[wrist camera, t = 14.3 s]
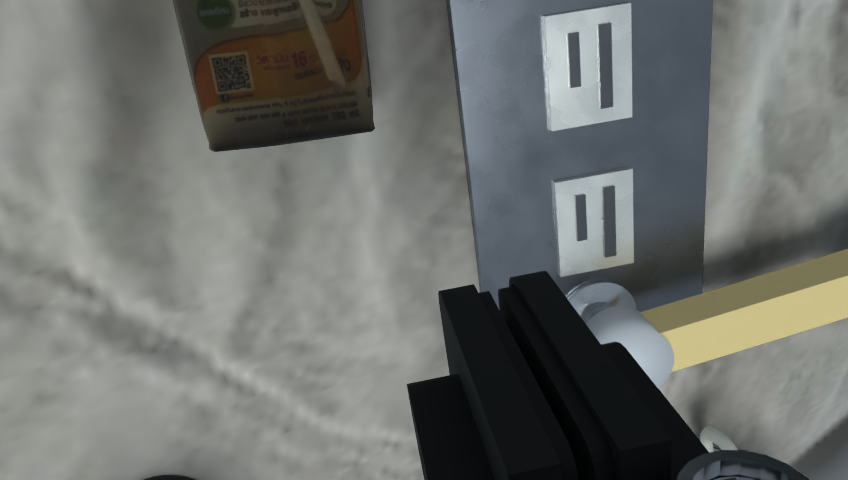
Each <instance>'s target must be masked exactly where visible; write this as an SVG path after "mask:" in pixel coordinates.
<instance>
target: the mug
mask: <svg viewBox="0 0 848 480" xmlns="http://www.w3.org/2000/svg"><path fill="white" fill-rule="evenodd" d="M700 441H701V443H702V444H703V445H704V447H705V448H706V449H707V450H708V452H709V453H710V452H714V451H719V450H718V449H715V448H713V443H715V444H716V445H718V446H719V447H720V448H721V449H722V450H738V449H737V447H736V446H735V445H734V443H733V442H732V441H731V439H730V438H729V437H728V436H727V435H726V434H725V433H724V432H723V431H722V430H720V429H719V428H717V427H715V426H712V425H708V426H706V427H705V428H704V429H703V430H702V432H701V434H700Z"/></svg>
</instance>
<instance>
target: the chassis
mask: <svg viewBox="0 0 848 480" xmlns="http://www.w3.org/2000/svg"><path fill="white" fill-rule="evenodd" d="M447 9H448V17H449V26H450V35H451V43H452V52H453V60H454V69H455V78H456V86H457V95H458V103H459V112H460V120H461V129H462V138H463V146H464V155H465V163H466V172H467V181H468V189H469V198H470V206H471V215H472V224H473V232H474V241H475V249H476V258H477V267H478V275H479V284H480V292H486V291H489V292H490V293H491V295H492V297H493V299H494V301H495V303H496V305H497V307H498V308H499V300H498V290H499V289H501V288H506V287H509V279H510V277H514V276H520V275H525V274H530V273H535V272H540V271H546V272H548V274H549V275H550V276H551V278H552V279H553V280H554V282H555V283H556V284H557V286H558V287H559V288H560V290H561V291H562V292H563V294H564V295H565V296H566V298H567V299H568V300H569V302H570V303H571V305H572V306H573V307H574V309H575V310H576V311H577V313H578V314H579V315H580V317H581V318H582V319H583V321H584V322H585V323H587V322H588V321H589V320H590V319H591V318H592V317H593V316H594V315H596V314H597V313H599V312H600V311H602V310H604V309H607V308H610V307H614V306H628V307H632V308H634V309H636V310H638V311H640V312H643V311H646V310H650V309H653V308H656V307H659V306H663V305H666V304H669V303H672V302H676V301H679V300H682V299H685V298H689V297H692V296H695V295H699V294H702V279H703V252H704V225H705V198H706V172H707V145H708V118H709V91H710V64H711V37H712V10H713V0H447Z"/></svg>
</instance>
